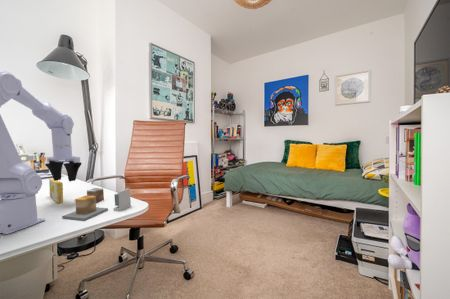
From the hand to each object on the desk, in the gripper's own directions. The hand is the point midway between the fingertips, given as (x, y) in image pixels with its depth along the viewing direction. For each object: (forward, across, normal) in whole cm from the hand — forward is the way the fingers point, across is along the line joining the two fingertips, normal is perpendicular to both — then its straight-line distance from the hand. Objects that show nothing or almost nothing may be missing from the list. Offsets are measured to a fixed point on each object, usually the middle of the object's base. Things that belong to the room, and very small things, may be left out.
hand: (64, 180), depth 79 cm
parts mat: (+9, -18, +7) cm, 21 cm away
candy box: (+10, +11, -4) cm, 15 cm away
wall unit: (+9, -26, 0) cm, 28 cm away
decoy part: (+10, -9, -5) cm, 14 cm away
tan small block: (+9, -18, +7) cm, 21 cm away
